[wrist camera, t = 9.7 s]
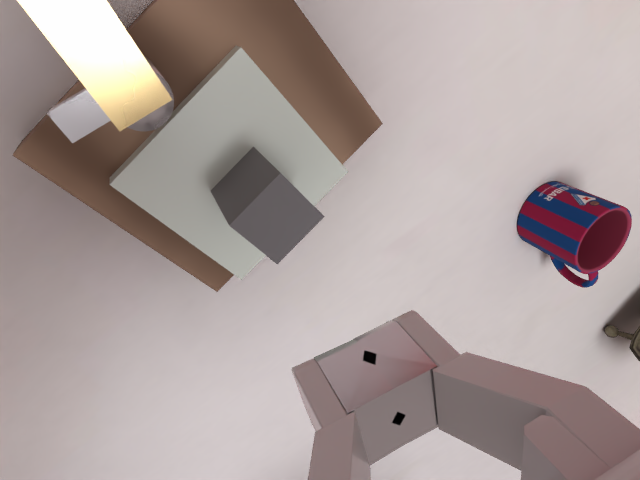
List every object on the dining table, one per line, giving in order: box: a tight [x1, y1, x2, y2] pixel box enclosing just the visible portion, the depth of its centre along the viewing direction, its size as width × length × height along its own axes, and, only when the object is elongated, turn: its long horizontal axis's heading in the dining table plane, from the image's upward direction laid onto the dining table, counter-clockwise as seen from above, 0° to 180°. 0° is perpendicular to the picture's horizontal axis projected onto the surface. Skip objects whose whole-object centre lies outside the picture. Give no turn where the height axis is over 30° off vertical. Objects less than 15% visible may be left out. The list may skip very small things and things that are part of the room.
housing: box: [13, 0, 383, 291], centre depth 27 cm, size 16×14×3 cm
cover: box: [110, 46, 348, 280], centre depth 24 cm, size 10×10×6 cm
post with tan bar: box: [17, 0, 174, 143], centre depth 16 cm, size 8×5×10 cm, turn 26°
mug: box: [517, 181, 632, 287], centre depth 43 cm, size 7×10×7 cm
